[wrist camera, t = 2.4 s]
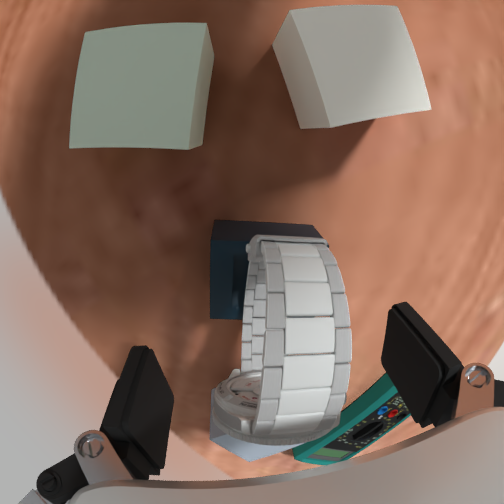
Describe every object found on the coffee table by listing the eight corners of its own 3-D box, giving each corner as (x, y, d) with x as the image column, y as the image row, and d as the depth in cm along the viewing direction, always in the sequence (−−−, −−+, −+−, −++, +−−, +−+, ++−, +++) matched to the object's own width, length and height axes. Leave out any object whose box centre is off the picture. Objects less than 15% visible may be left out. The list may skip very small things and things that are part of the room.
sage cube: (125, 56, 12) (85, 32, 7) (214, 56, 12) (206, 23, 8) (114, 141, 14) (68, 148, 9) (202, 144, 14) (188, 149, 10)
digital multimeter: (426, 378, 24) (438, 396, 22) (331, 451, 28) (336, 469, 26) (392, 359, 22) (406, 382, 20) (287, 443, 26) (291, 464, 24)
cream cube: (271, 45, 12) (289, 10, 8) (354, 33, 12) (397, 5, 7) (300, 128, 14) (330, 127, 10) (379, 111, 14) (431, 109, 9)
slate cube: (211, 388, 21) (209, 439, 17) (264, 364, 20) (272, 417, 16) (245, 415, 23) (249, 461, 18) (294, 395, 22) (305, 442, 18)
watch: (212, 314, 18) (204, 476, 8) (215, 188, 15) (184, 304, 5) (298, 316, 19) (346, 465, 9) (317, 195, 16) (442, 302, 6)
